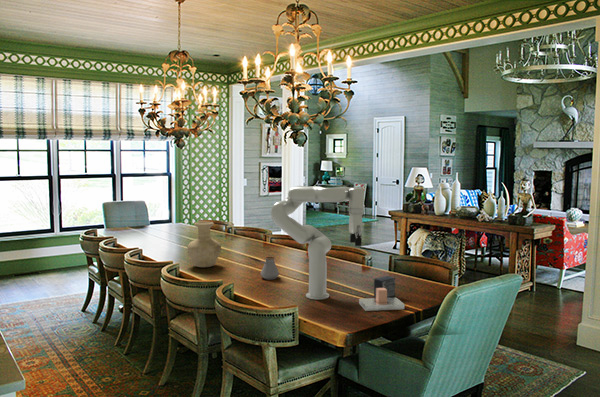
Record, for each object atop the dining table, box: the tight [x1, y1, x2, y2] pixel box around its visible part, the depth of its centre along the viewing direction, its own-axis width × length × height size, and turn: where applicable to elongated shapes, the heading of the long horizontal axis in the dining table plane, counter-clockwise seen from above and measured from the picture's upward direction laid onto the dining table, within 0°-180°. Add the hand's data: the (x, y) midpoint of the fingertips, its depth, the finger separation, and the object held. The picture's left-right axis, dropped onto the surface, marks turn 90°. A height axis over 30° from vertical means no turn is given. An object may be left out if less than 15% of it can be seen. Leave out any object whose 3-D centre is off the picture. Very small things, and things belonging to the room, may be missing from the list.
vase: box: [186, 221, 222, 268], centre depth 332 cm, size 22×22×30 cm
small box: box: [373, 275, 396, 298], centre depth 266 cm, size 11×6×10 cm, turn 129°
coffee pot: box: [248, 256, 280, 281], centre depth 300 cm, size 21×12×15 cm, turn 131°
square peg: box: [376, 288, 387, 304], centre depth 249 cm, size 4×4×9 cm
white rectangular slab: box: [358, 296, 405, 312], centre depth 249 cm, size 12×20×2 cm, turn 99°
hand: (355, 244), depth 256 cm, fingers open, 9 cm apart
